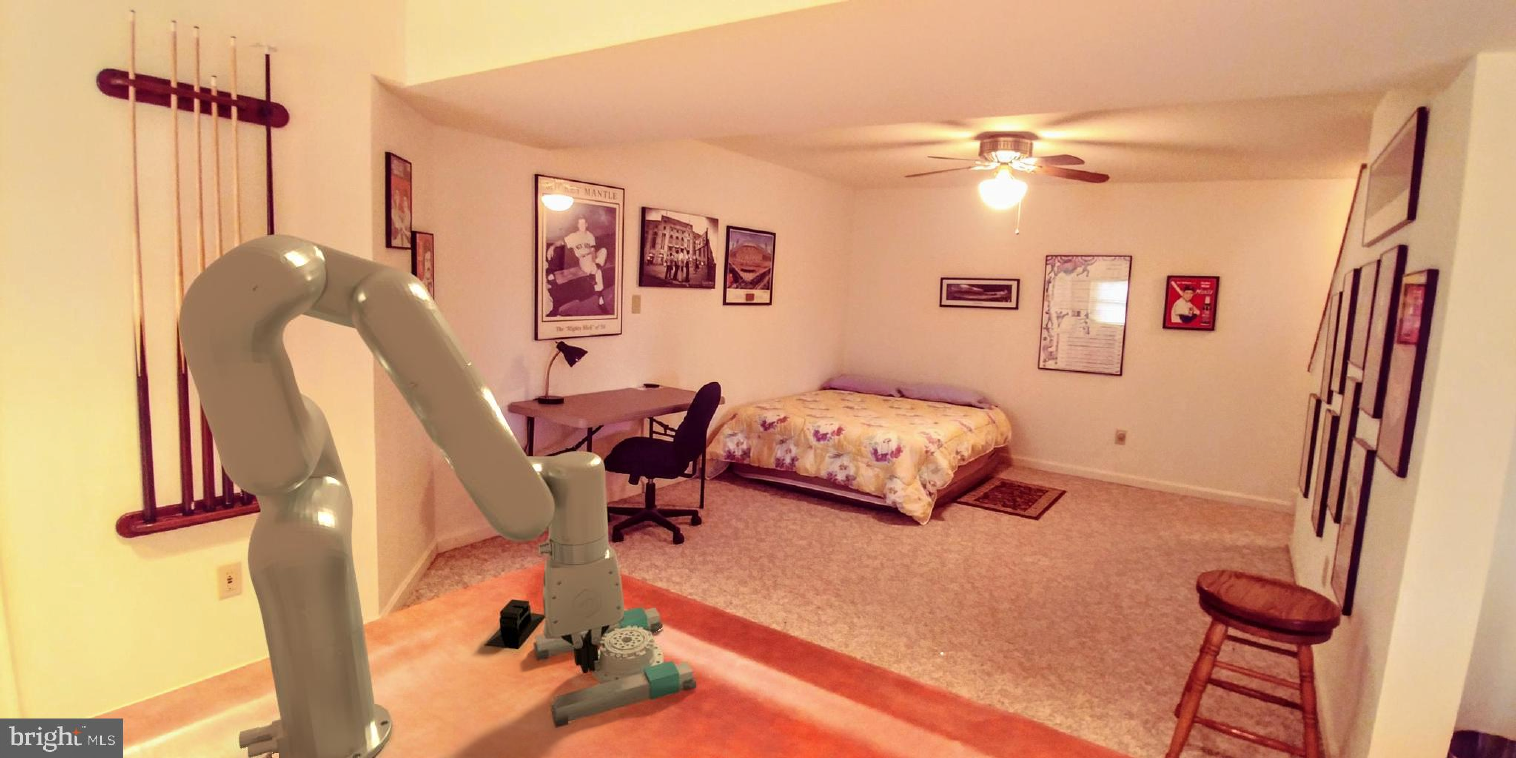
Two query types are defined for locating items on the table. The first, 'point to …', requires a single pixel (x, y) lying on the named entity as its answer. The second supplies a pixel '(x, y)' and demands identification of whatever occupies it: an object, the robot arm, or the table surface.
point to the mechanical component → (626, 654)
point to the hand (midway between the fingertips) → (586, 666)
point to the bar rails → (619, 691)
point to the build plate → (515, 625)
